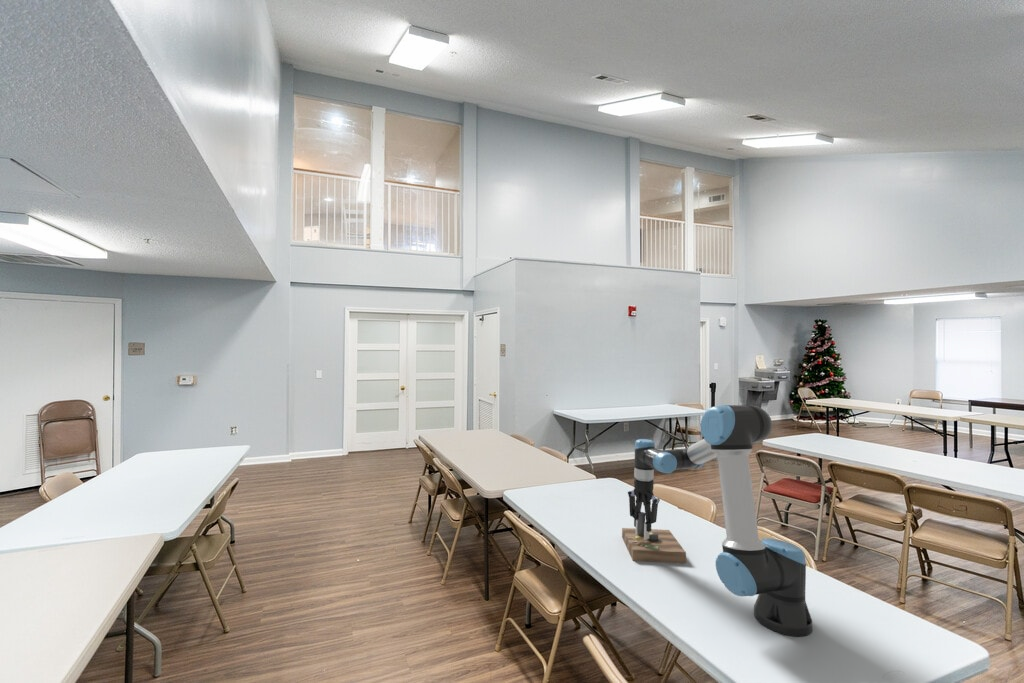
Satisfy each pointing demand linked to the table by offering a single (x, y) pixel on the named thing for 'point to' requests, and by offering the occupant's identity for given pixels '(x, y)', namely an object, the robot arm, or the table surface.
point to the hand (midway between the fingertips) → (642, 537)
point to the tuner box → (654, 547)
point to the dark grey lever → (641, 520)
